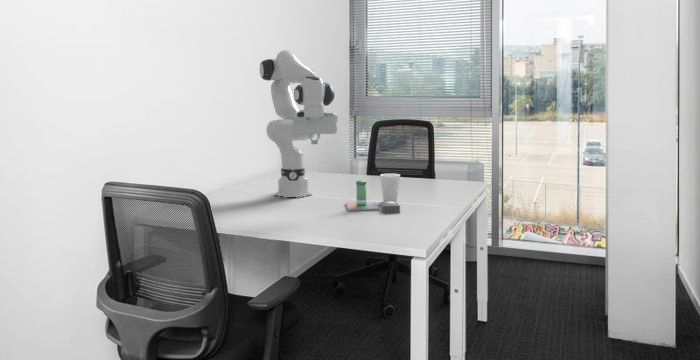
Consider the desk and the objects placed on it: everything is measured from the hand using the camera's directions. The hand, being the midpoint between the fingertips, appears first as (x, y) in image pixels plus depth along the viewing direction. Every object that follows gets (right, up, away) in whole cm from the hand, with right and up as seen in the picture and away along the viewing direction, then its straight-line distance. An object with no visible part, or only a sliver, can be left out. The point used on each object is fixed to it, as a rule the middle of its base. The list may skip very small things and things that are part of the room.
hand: (314, 144), depth 242 cm
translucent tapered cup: (+35, -27, +17) cm, 47 cm away
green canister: (+21, -28, +6) cm, 35 cm away
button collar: (+34, -30, -3) cm, 45 cm away
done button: (+34, -29, -3) cm, 45 cm away
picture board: (+21, -29, +5) cm, 36 cm away
